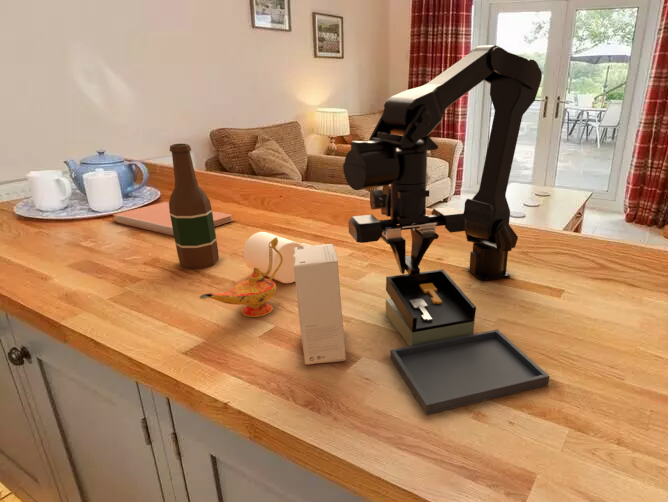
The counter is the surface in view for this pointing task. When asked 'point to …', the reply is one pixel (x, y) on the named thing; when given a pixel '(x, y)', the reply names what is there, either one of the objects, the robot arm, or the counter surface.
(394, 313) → the stand
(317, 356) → the cosmetic box
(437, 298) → the brass key
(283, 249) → the mug
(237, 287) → the magic lamp
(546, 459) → the counter surface
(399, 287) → the dish
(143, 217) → the notebook
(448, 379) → the tray
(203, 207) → the beer bottle
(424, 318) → the steel key
